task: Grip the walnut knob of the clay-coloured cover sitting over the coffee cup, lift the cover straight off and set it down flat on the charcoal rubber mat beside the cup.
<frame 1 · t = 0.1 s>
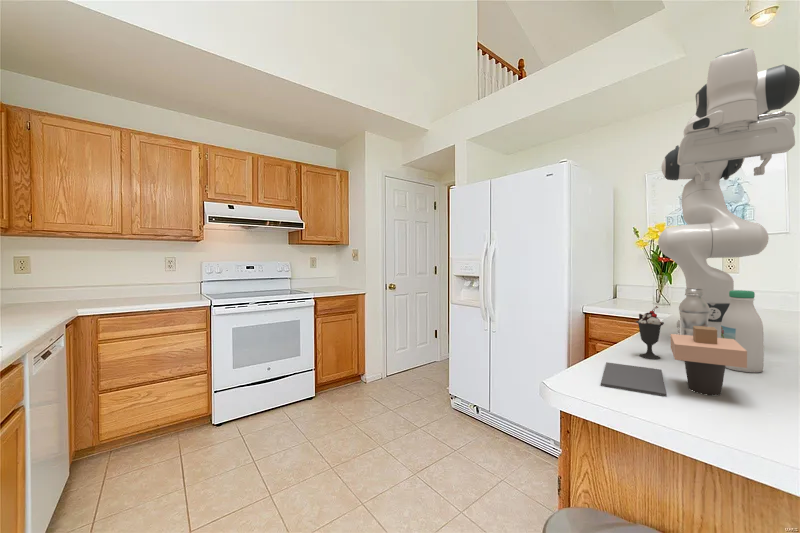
hand: (731, 178, 83), 48 cm above the countertop, fingers open, 8 cm apart
sundae: (649, 357, 99), on the countertop
milk bottle: (741, 369, 88), on the countertop
plastic bottle: (694, 361, 94), on the countertop
mat: (632, 378, 83), on the countertop
coffee cup: (704, 391, 75), on the countertop, touching cover
cover: (704, 345, 74), point 10 cm above the countertop, touching coffee cup
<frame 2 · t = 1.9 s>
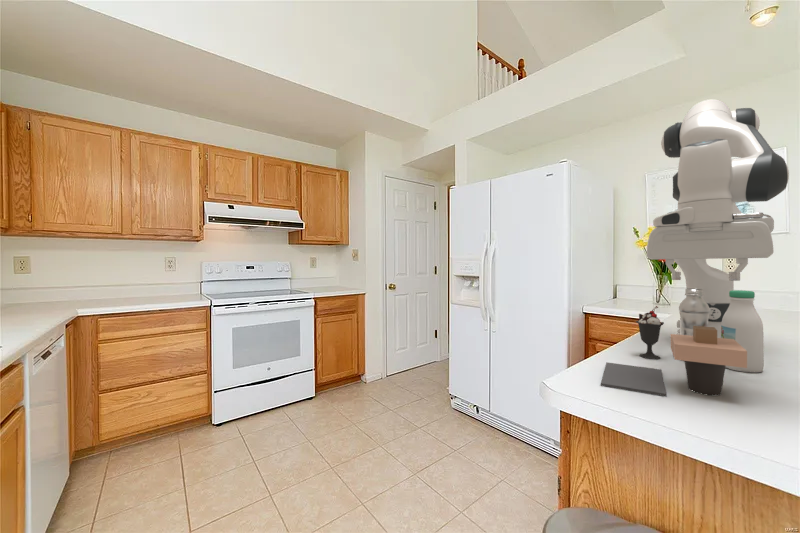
hand: (704, 280, 74), 24 cm above the countertop, fingers open, 8 cm apart
nothing on the countertop moved.
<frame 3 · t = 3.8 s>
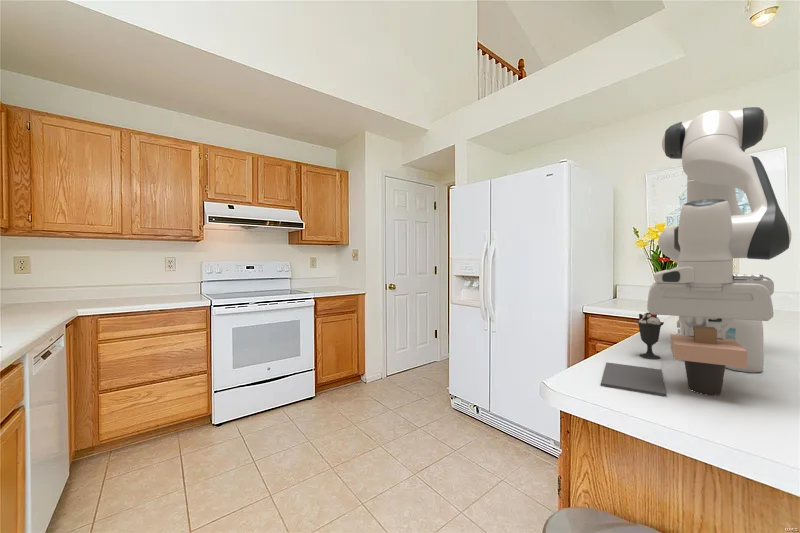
hand: (704, 337, 74), 12 cm above the countertop, fingers closed on cover, 3 cm apart
cover: (704, 345, 74), point 10 cm above the countertop, touching coffee cup, gripper
everything else where it was.
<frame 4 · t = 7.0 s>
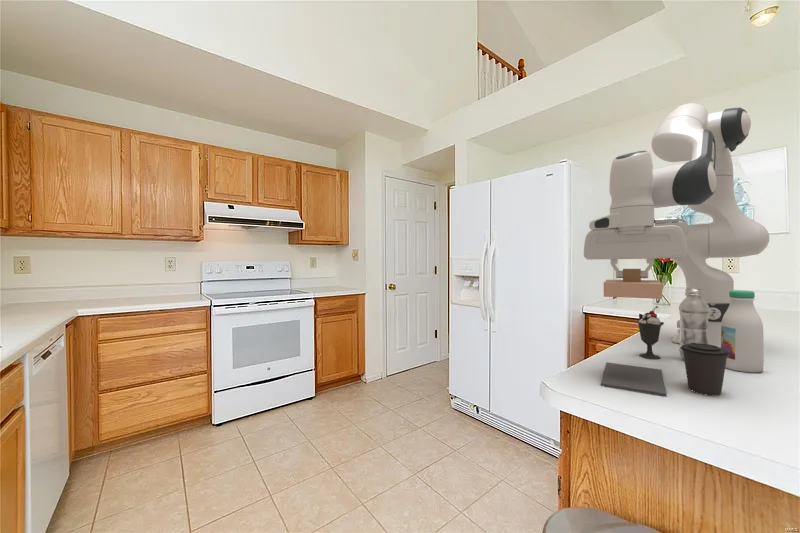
hand: (631, 278, 82), 24 cm above the countertop, fingers closed on cover, 3 cm apart
coffee cup: (704, 391, 75), on the countertop
cover: (631, 284, 82), point 23 cm above the countertop, touching gripper
everything else where it was.
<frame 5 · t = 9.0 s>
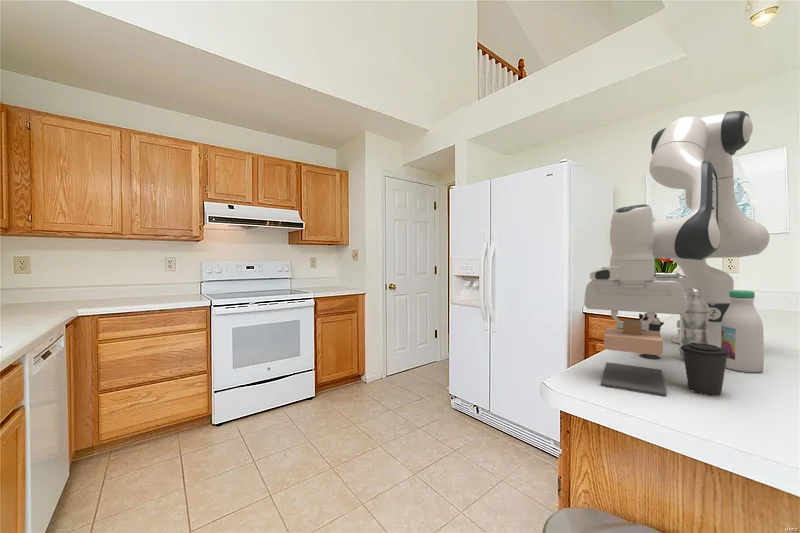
hand: (632, 330, 82), 12 cm above the countertop, fingers closed on cover, 3 cm apart
cover: (632, 336, 82), point 10 cm above the countertop, touching gripper
everything else where it was.
when the fingers open (6 cm above the countertop, at t = 10.5 s): cover drops 1 cm, resting on mat.
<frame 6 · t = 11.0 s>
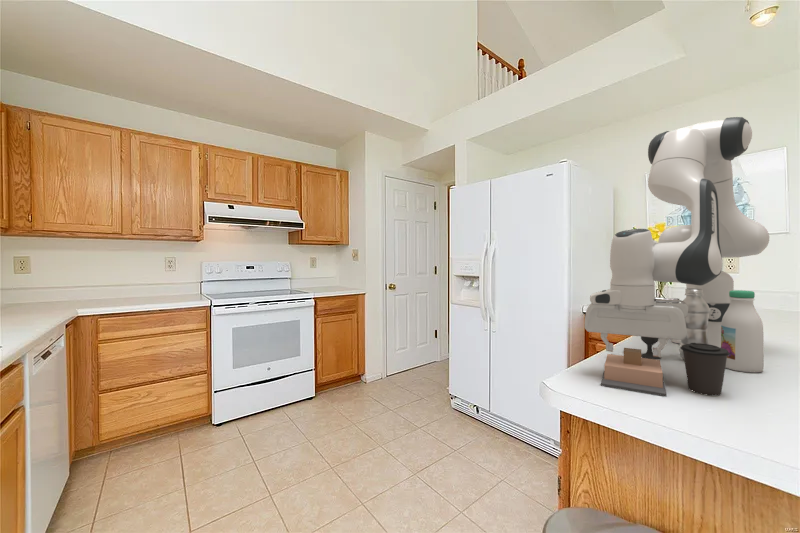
hand: (632, 353, 83), 6 cm above the countertop, fingers open, 8 cm apart
cover: (632, 365, 83), point 3 cm above the countertop, touching mat
everything else where it was.
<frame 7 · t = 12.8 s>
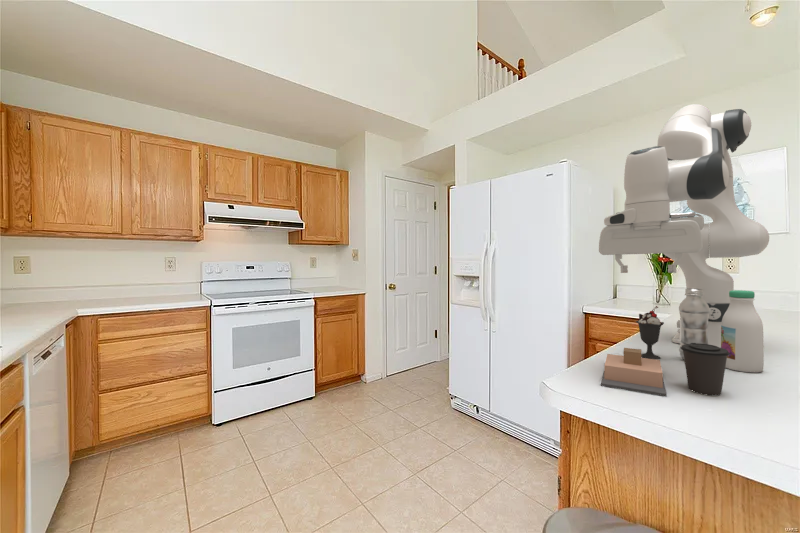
hand: (647, 272, 83), 26 cm above the countertop, fingers open, 8 cm apart
nothing on the countertop moved.
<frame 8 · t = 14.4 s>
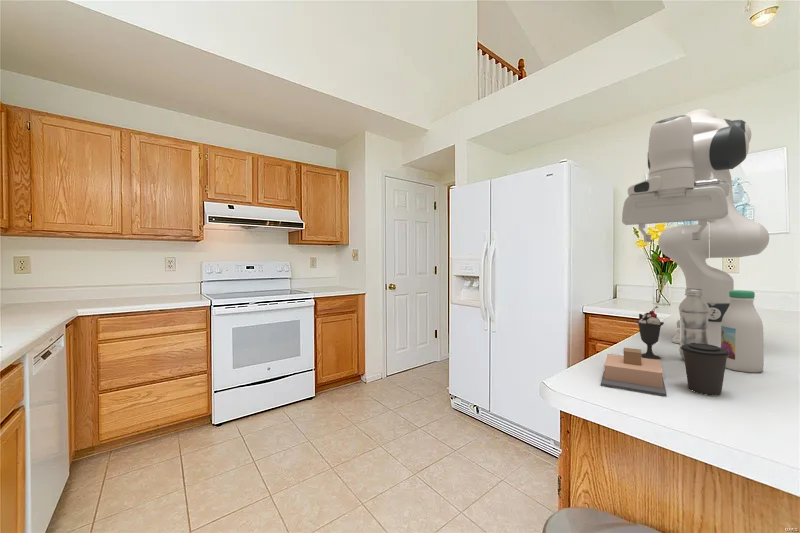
hand: (671, 240, 84), 33 cm above the countertop, fingers open, 8 cm apart
nothing on the countertop moved.
at the end: cover inside the target area on the mat (0.1 cm from its centre), point 3.1 cm above the mat's base; cover tilted 0°; coffee cup moved 0.2 cm from its start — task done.
